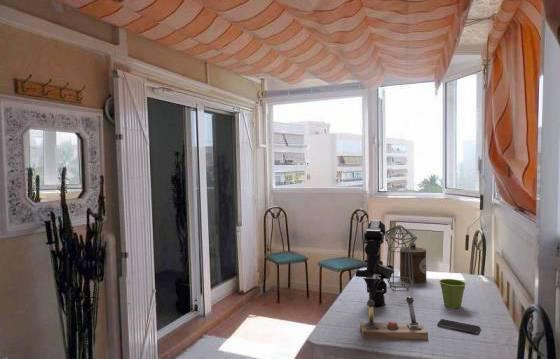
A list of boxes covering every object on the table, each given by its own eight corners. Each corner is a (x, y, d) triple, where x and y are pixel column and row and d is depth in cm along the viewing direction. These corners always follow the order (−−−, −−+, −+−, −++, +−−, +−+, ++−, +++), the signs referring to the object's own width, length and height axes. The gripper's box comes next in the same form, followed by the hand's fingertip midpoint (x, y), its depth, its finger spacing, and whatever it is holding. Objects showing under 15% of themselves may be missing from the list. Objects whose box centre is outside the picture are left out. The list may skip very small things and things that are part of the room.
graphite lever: (409, 325, 147) (404, 296, 150) (415, 324, 147) (410, 296, 151) (412, 325, 144) (407, 296, 148) (419, 324, 144) (414, 296, 148)
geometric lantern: (410, 285, 211) (410, 223, 210) (417, 294, 195) (418, 227, 194) (381, 284, 213) (382, 222, 211) (386, 293, 197) (387, 227, 196)
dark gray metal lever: (368, 322, 149) (367, 298, 146) (375, 322, 148) (374, 298, 145) (367, 326, 146) (366, 302, 143) (374, 327, 145) (374, 302, 143)
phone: (477, 333, 144) (436, 324, 153) (477, 336, 144) (436, 327, 153) (480, 326, 150) (441, 318, 159) (480, 329, 150) (441, 321, 159)
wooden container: (428, 284, 212) (427, 245, 212) (401, 282, 216) (400, 244, 216) (424, 277, 227) (424, 240, 227) (399, 275, 230) (398, 240, 230)
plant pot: (470, 311, 169) (469, 286, 169) (442, 309, 172) (441, 285, 172) (462, 302, 181) (462, 279, 181) (436, 301, 183) (436, 278, 183)
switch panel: (360, 328, 152) (359, 318, 151) (420, 329, 150) (420, 318, 150) (363, 338, 143) (363, 327, 142) (428, 339, 141) (427, 327, 141)
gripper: (378, 256, 151) (378, 297, 147) (401, 260, 163) (401, 297, 159) (355, 256, 159) (354, 294, 155) (378, 259, 171) (378, 295, 167)
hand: (373, 295), depth 159 cm, fingers closed
